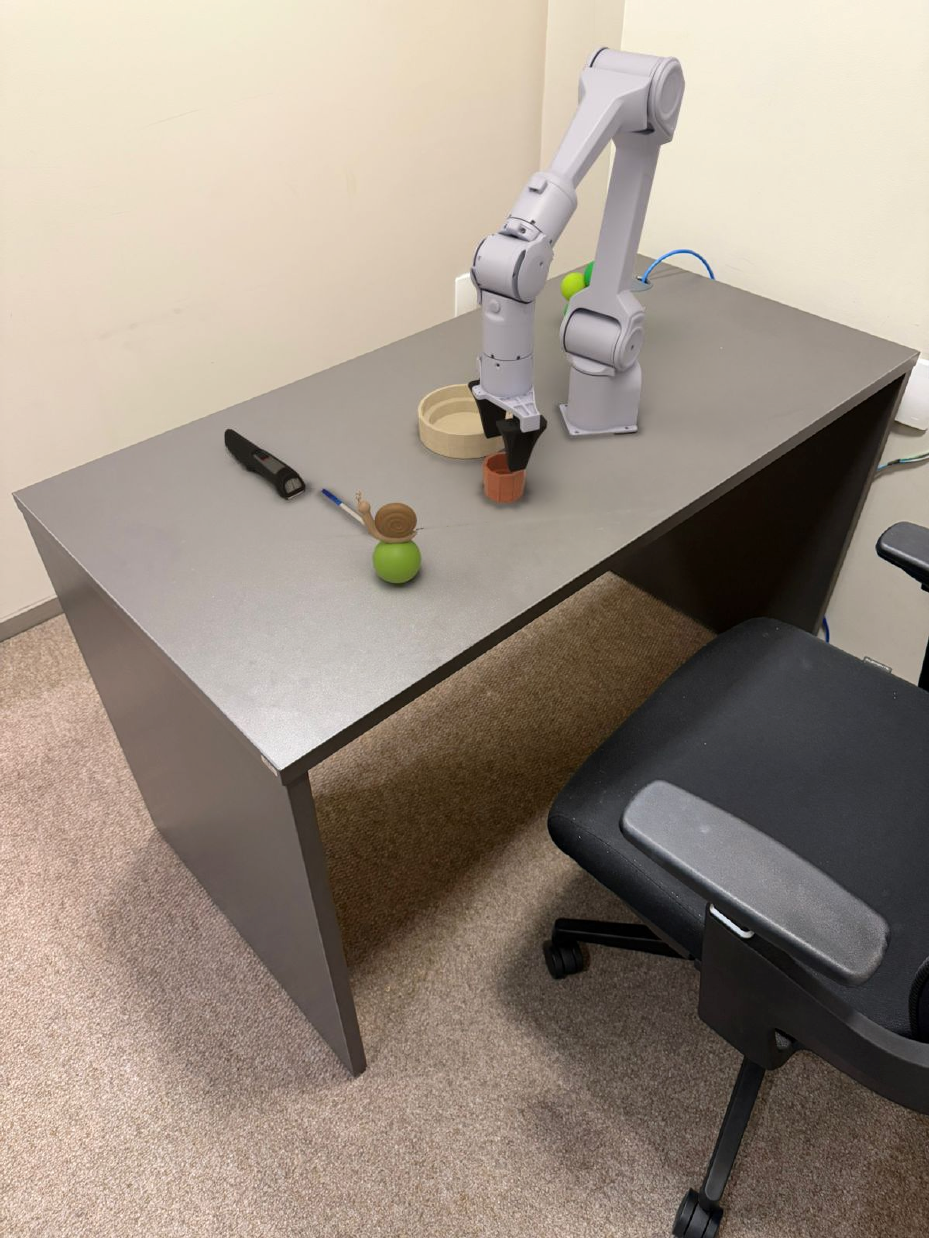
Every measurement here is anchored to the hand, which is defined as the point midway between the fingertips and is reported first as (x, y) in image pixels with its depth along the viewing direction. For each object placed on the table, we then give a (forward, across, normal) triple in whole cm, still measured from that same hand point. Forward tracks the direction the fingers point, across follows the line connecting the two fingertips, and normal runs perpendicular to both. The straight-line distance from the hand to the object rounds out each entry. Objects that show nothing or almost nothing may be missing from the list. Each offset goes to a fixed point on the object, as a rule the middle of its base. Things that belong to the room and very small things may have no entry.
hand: (505, 452), depth 105 cm
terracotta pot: (+6, 0, 0) cm, 6 cm away
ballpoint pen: (+6, -4, -20) cm, 21 cm away
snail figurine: (+6, +10, -18) cm, 22 cm away
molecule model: (+6, -34, +29) cm, 46 cm away
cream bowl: (+6, -14, 0) cm, 16 cm away
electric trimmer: (+6, -16, -28) cm, 33 cm away
